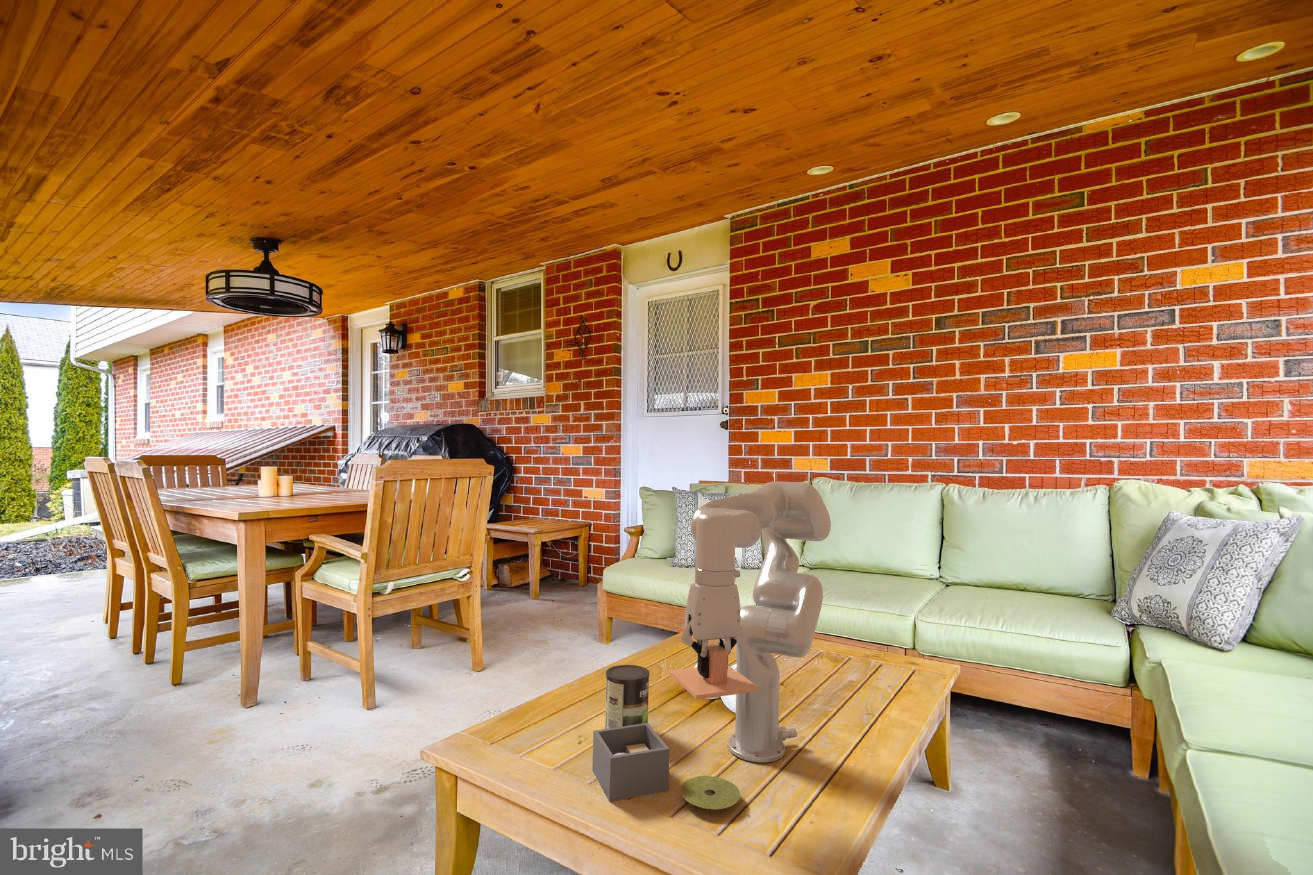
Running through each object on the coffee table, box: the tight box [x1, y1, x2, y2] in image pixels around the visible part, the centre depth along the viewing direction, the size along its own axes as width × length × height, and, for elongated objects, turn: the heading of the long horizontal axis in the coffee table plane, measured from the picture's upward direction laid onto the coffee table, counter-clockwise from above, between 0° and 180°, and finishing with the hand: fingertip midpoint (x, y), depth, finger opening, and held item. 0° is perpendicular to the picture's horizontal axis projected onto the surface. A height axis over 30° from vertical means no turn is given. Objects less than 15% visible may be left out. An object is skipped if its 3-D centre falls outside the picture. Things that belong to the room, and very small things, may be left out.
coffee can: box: [604, 664, 650, 729], centre depth 142 cm, size 10×10×14 cm
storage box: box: [591, 722, 670, 802], centre depth 121 cm, size 12×12×8 cm
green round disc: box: [680, 775, 741, 810], centre depth 114 cm, size 11×11×2 cm
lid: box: [668, 640, 759, 700], centre depth 115 cm, size 13×13×7 cm
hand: (712, 674), depth 115 cm, fingers closed on lid, 3 cm apart
